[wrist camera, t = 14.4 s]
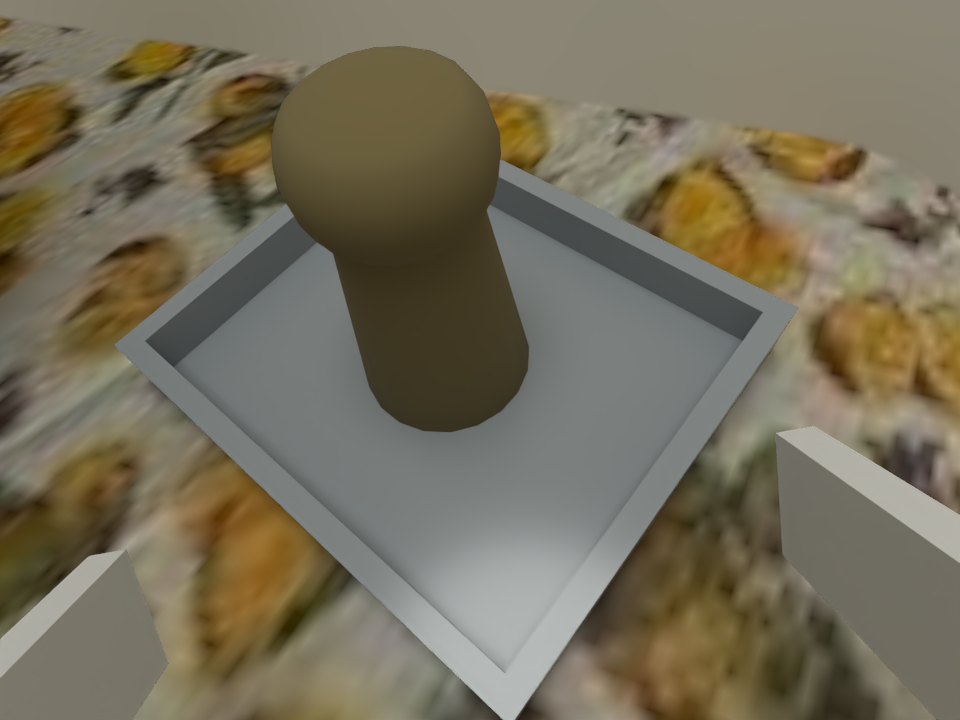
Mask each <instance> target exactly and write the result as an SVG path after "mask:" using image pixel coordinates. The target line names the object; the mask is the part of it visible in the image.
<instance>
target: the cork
mask: <svg viewBox="0 0 960 720" xmlns="http://www.w3.org/2000/svg"><path fill="white" fill-rule="evenodd" d="M271 150H272V163H273V170H274V175H275V180H276V185H277V187H278V189H279V191H280V193H281V195H282V197H283V198H284V200H285V202H286V204H287V206H288V207H289V209H290V211H291V212H292V214H293V215H294V217H295V219H296V220H297V222H298V224H299V225H300V227H301V228H302V229H303V230H304V231H305V232H306V233H307V234H308V235H309V236H310V237H312V238H313V239H314V240H315V241H316V242H317V243H319V244H320V245H322V246H323V247H325V248H326V249H327V250H329V251H330V252H332V253H333V256H334V260H335V263H336V267H337V271H338V274H339V278H340V282H341V285H342V289H343V293H344V296H345V300H346V304H347V307H348V311H349V315H350V318H351V322H352V326H353V329H354V333H355V337H356V340H357V344H358V348H359V351H360V355H361V359H362V362H363V366H364V370H365V373H366V377H367V381H368V384H369V388H370V389H371V391H372V393H373V395H374V396H375V398H376V400H377V402H378V403H379V405H380V407H381V408H382V409H384V410H385V411H386V412H387V413H389V414H390V415H391V416H392V417H393V418H395V419H396V420H397V421H398V422H400V423H403V424H405V425H408V426H411V427H413V428H416V429H419V430H422V431H430V432H454V431H458V430H462V429H466V428H470V427H474V426H478V425H479V424H481V423H483V422H484V421H486V420H488V419H489V418H491V417H493V416H494V415H496V414H498V413H499V412H501V411H502V410H503V409H504V408H505V407H506V405H507V404H508V403H509V402H510V401H511V400H512V399H513V398H514V397H515V395H516V394H517V393H518V392H519V390H520V387H521V385H522V383H523V380H524V378H525V376H526V373H527V371H528V360H529V345H528V342H527V338H526V335H525V332H524V329H523V326H522V322H521V319H520V316H519V313H518V309H517V306H516V303H515V300H514V297H513V293H512V290H511V287H510V284H509V280H508V277H507V274H506V271H505V268H504V264H503V261H502V258H501V255H500V251H499V248H498V245H497V242H496V239H495V235H494V232H493V229H492V226H491V222H490V219H489V216H488V213H487V209H488V207H489V205H490V203H491V202H492V200H493V198H494V195H495V191H496V186H497V182H498V177H499V167H500V157H501V149H500V133H499V130H498V128H497V125H496V122H495V120H494V117H493V114H492V112H491V109H490V106H489V104H488V101H487V99H486V96H485V94H484V91H483V90H482V89H481V88H480V87H479V86H478V85H477V84H476V83H475V81H473V79H472V78H471V77H470V76H469V75H468V74H467V73H466V72H465V71H464V70H463V69H462V68H461V67H460V66H459V65H458V64H457V63H456V62H454V61H453V60H451V59H448V58H446V57H444V56H442V55H439V54H437V53H435V52H433V51H429V50H422V49H416V48H411V47H404V46H403V47H401V46H395V47H374V48H370V49H365V50H361V51H356V52H353V53H348V54H346V55H344V56H342V57H339V58H337V59H335V60H332V61H330V62H328V63H326V64H324V65H322V66H321V67H320V68H318V69H317V70H315V71H314V72H313V73H311V74H310V75H308V76H307V77H306V78H304V79H303V80H301V81H300V82H299V83H298V84H297V85H296V86H295V87H294V89H293V90H292V91H291V92H290V93H289V95H288V96H287V97H286V98H285V99H284V101H283V102H282V105H281V107H280V110H279V113H278V115H277V118H276V121H275V124H274V129H273V134H272V139H271Z"/></svg>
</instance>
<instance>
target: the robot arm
mask: <svg viewBox="0 0 960 720" xmlns="http://www.w3.org/2000/svg"><path fill="white" fill-rule="evenodd" d="M776 449H777V467H778V484H779V502H780V519H781V536H782V554H783V556H784V557H785V558H786V559H787V560H788V561H789V562H790V563H791V564H792V565H793V566H794V567H795V568H796V569H797V571H798V572H799V573H800V574H801V575H802V576H803V577H804V578H805V579H806V580H807V581H808V582H809V583H810V584H811V586H812V587H813V588H814V589H815V590H816V591H817V592H818V593H819V594H820V595H821V596H822V597H823V598H824V599H825V600H826V602H827V603H828V604H829V605H830V606H831V607H832V608H833V609H834V610H835V611H836V612H837V613H838V614H839V615H840V617H841V618H842V619H843V620H844V621H845V622H846V623H847V624H848V625H849V626H850V627H851V628H852V629H853V630H854V631H855V633H856V634H857V635H858V636H859V637H860V638H861V639H862V640H863V641H864V642H865V643H866V644H867V645H868V646H869V647H870V649H871V650H872V651H873V652H874V653H875V654H876V655H877V656H878V657H879V658H880V659H881V660H882V661H883V662H884V664H885V665H886V666H887V667H888V668H889V669H890V670H891V671H892V672H893V673H894V674H895V675H896V676H897V677H898V678H899V680H900V681H901V682H902V683H903V684H904V685H905V686H906V687H907V688H908V689H909V690H910V691H911V692H912V693H913V695H914V696H915V697H916V698H917V699H918V700H919V701H920V702H921V703H922V704H923V705H924V706H925V707H926V708H927V709H928V711H929V712H930V713H931V714H932V715H933V716H934V717H935V718H936V719H937V720H960V515H959V514H957V513H956V512H954V511H952V510H951V509H949V508H947V507H946V506H944V505H942V504H941V503H939V502H938V501H936V500H934V499H933V498H931V497H929V496H928V495H926V494H924V493H923V492H921V491H920V490H918V489H916V488H915V487H913V486H911V485H910V484H908V483H906V482H905V481H903V480H902V479H900V478H898V477H897V476H895V475H893V474H892V473H890V472H888V471H887V470H885V469H884V468H882V467H880V466H879V465H877V464H875V463H874V462H872V461H870V460H869V459H867V458H865V457H864V456H862V455H861V454H859V453H857V452H856V451H854V450H852V449H851V448H849V447H847V446H846V445H844V444H843V443H841V442H839V441H838V440H836V439H834V438H833V437H831V436H829V435H828V434H826V433H825V432H823V431H821V430H820V429H818V428H816V427H815V426H811V427H806V428H800V429H795V430H789V431H783V432H778V433H776ZM167 665H168V660H167V658H166V655H165V652H164V650H163V647H162V644H161V641H160V639H159V636H158V633H157V631H156V628H155V625H154V623H153V620H152V617H151V614H150V612H149V609H148V606H147V604H146V601H145V598H144V596H143V593H142V590H141V587H140V585H139V582H138V579H137V577H136V574H135V571H134V569H133V566H132V563H131V560H130V558H129V555H128V552H127V550H120V551H114V552H109V553H103V554H98V555H92V556H89V557H87V558H86V559H85V560H84V561H83V562H82V563H81V564H80V565H79V566H78V567H77V568H76V569H75V570H74V571H72V572H71V573H70V574H69V575H68V576H67V577H66V578H65V579H64V580H63V581H62V582H61V583H60V584H59V585H58V586H56V587H55V588H54V589H53V590H52V591H51V592H50V593H49V594H48V595H47V596H46V597H45V598H44V599H43V600H41V601H40V602H39V603H38V604H37V605H36V606H35V607H34V608H33V609H32V610H31V611H30V612H29V613H28V614H26V615H25V616H24V617H23V618H22V619H21V620H20V621H19V622H18V623H17V624H16V625H15V626H14V627H13V628H11V629H10V630H9V631H8V632H7V633H6V634H5V635H4V636H3V637H2V638H1V639H0V720H132V719H133V718H134V716H135V715H136V713H137V712H138V710H139V708H140V707H141V705H142V704H143V702H144V701H145V699H146V698H147V696H148V694H149V693H150V691H151V690H152V688H153V687H154V685H155V684H156V682H157V680H158V679H159V677H160V676H161V674H162V673H163V671H164V670H165V668H166V666H167Z"/></svg>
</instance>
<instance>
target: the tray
mask: <svg viewBox="0 0 960 720" xmlns="http://www.w3.org/2000/svg"><path fill="white" fill-rule="evenodd" d="M487 213H488V216H489V219H490V222H491V226H492V229H493V232H494V235H495V239H496V242H497V245H498V248H499V251H500V255H501V258H502V261H503V264H504V268H505V271H506V274H507V277H508V280H509V284H510V287H511V290H512V293H513V297H514V300H515V303H516V306H517V309H518V313H519V316H520V319H521V322H522V326H523V329H524V332H525V335H526V338H527V342H528V345H529V360H528V371H527V373H526V376H525V378H524V380H523V383H522V385H521V387H520V390H519V392H518V393H517V394H516V395H515V397H514V398H513V399H512V400H511V401H510V402H509V403H508V404H507V405H506V407H505V408H504V409H503V410H502V411H501V412H499V413H498V414H496V415H494V416H493V417H491V418H489V419H488V420H486V421H484V422H483V423H481V424H479V425H478V426H474V427H470V428H466V429H462V430H458V431H454V432H430V431H422V430H419V429H416V428H413V427H411V426H408V425H405V424H403V423H400V422H398V421H397V420H396V419H395V418H393V417H392V416H391V415H390V414H389V413H387V412H386V411H385V410H384V409H382V408H381V407H380V405H379V403H378V402H377V400H376V398H375V396H374V395H373V393H372V391H371V389H370V388H369V384H368V381H367V377H366V373H365V370H364V366H363V362H362V359H361V355H360V351H359V348H358V344H357V340H356V337H355V333H354V329H353V326H352V322H351V318H350V315H349V311H348V307H347V304H346V300H345V296H344V293H343V289H342V285H341V282H340V278H339V274H338V271H337V267H336V263H335V260H334V256H333V253H332V252H330V251H329V250H327V249H326V248H325V247H323V246H322V245H320V244H319V243H317V242H316V241H315V240H314V239H313V238H312V237H310V236H309V235H308V234H307V233H306V232H305V231H304V230H303V229H302V228H301V227H300V225H299V224H298V222H297V220H296V219H295V217H294V215H293V214H292V212H291V211H290V209H289V207H288V206H287V204H285V205H284V206H283V207H281V208H280V209H279V210H278V211H277V212H275V213H274V214H273V215H272V216H271V217H269V218H268V219H267V220H266V221H264V222H263V223H262V224H261V225H260V226H258V227H257V228H256V229H255V230H253V231H252V232H251V233H250V234H249V235H247V236H246V237H245V238H244V239H242V240H241V241H240V242H239V243H238V244H236V245H235V246H234V247H233V248H232V249H230V250H229V251H228V252H227V253H225V254H224V255H223V256H222V257H221V258H219V259H218V260H217V261H216V262H214V263H213V264H212V265H211V266H210V267H208V268H207V269H206V270H205V271H203V272H202V273H201V274H200V275H199V276H197V277H196V278H195V279H194V280H193V281H191V282H190V283H189V284H188V285H186V286H185V287H184V288H183V289H182V290H180V291H179V292H178V293H177V294H175V295H174V296H173V297H172V298H171V299H169V300H168V301H167V302H166V303H164V304H163V305H162V306H161V307H160V308H158V309H157V310H156V311H155V312H153V313H152V314H151V315H150V316H149V317H147V318H146V319H145V320H144V321H143V322H141V323H140V324H139V325H138V326H136V327H135V328H134V329H133V330H132V331H130V332H129V333H128V334H127V335H125V336H124V337H123V338H122V339H121V340H119V341H118V342H117V343H116V344H114V346H115V347H116V348H117V349H119V350H120V351H121V352H122V353H123V354H124V355H125V356H126V357H127V358H128V359H129V360H130V361H131V362H132V363H133V364H134V365H135V366H136V367H137V368H138V369H139V370H140V371H141V372H142V373H143V374H144V375H146V376H147V377H148V378H149V379H150V380H151V381H152V382H153V383H154V384H155V385H156V386H157V387H158V388H159V389H160V390H161V391H162V392H163V393H164V394H165V395H166V396H167V397H168V398H169V399H170V400H171V401H173V402H174V403H175V404H176V405H177V406H178V407H179V408H180V409H181V410H182V411H183V412H184V413H185V414H186V415H187V416H188V417H189V418H190V419H191V420H192V421H193V422H194V423H195V424H196V425H197V426H198V427H200V428H201V429H202V430H203V431H204V432H205V433H206V434H207V435H208V436H209V437H210V438H211V439H212V440H213V441H214V442H215V443H216V444H217V445H218V446H219V447H220V448H221V449H222V450H223V451H224V452H225V453H227V454H228V455H229V456H230V457H231V458H232V459H233V460H234V461H235V462H236V463H237V464H238V465H239V466H240V467H241V468H242V469H243V470H244V471H245V472H246V473H247V474H248V475H249V476H250V477H251V478H252V479H254V480H255V481H256V482H257V483H258V484H259V485H260V486H261V487H262V488H263V489H264V490H265V491H266V492H267V493H268V494H269V495H270V496H271V497H272V498H273V499H274V500H275V501H276V502H277V503H278V504H280V505H281V506H282V507H283V508H284V509H285V510H286V511H287V512H288V513H289V514H290V515H291V516H292V517H293V518H294V519H295V520H296V521H297V522H298V523H299V524H300V525H301V526H302V527H303V528H304V529H305V530H307V531H308V532H309V533H310V534H311V535H312V536H313V537H314V538H315V539H316V540H317V541H318V542H319V543H320V544H321V545H322V546H323V547H324V548H325V549H326V550H327V551H328V552H329V553H330V554H331V555H332V556H334V557H335V558H336V559H337V560H338V561H339V562H340V563H341V564H342V565H343V566H344V567H345V568H346V569H347V570H348V571H349V572H350V573H351V574H352V575H353V576H354V577H355V578H356V579H357V580H358V581H359V582H361V583H362V584H363V585H364V586H365V587H366V588H367V589H368V590H369V591H370V592H371V593H372V594H373V595H374V596H375V597H376V598H377V599H378V600H379V601H380V602H381V603H382V604H383V605H384V606H385V607H386V608H388V609H389V610H390V611H391V612H392V613H393V614H394V615H395V616H396V617H397V618H398V619H399V620H400V621H401V622H402V623H403V624H404V625H405V626H406V627H407V628H408V629H409V630H410V631H411V632H412V633H413V634H415V635H416V636H417V637H418V638H419V639H420V640H421V641H422V642H423V643H424V644H425V645H426V646H427V647H428V648H429V649H430V650H431V651H432V652H433V653H434V654H435V655H436V656H437V657H438V658H439V659H441V660H442V661H443V662H444V663H445V664H446V665H447V666H448V667H449V668H450V669H451V670H452V671H453V672H454V673H455V674H456V675H457V676H458V677H459V678H460V679H461V680H462V681H463V682H464V683H465V684H466V685H468V686H469V687H470V688H471V689H472V690H473V691H474V692H475V693H476V694H477V695H478V696H479V697H480V698H481V699H482V700H483V701H484V702H485V703H486V704H487V705H488V706H489V707H490V708H491V709H492V710H493V711H495V712H496V713H497V714H498V715H499V716H500V717H501V718H502V719H503V720H518V718H519V717H520V715H521V714H522V712H523V711H524V709H525V708H526V706H527V705H528V704H529V702H530V701H531V699H532V698H533V696H534V695H535V693H536V692H537V690H538V689H539V688H540V686H541V685H542V683H543V682H544V680H545V679H546V677H547V676H548V674H549V673H550V672H551V670H552V669H553V667H554V666H555V664H556V663H557V661H558V660H559V658H560V657H561V656H562V654H563V653H564V651H565V650H566V648H567V647H568V645H569V644H570V642H571V641H572V640H573V638H574V637H575V635H576V634H577V632H578V631H579V629H580V628H581V626H582V625H583V624H584V622H585V621H586V619H587V618H588V616H589V615H590V613H591V612H592V610H593V609H594V608H595V606H596V605H597V603H598V602H599V600H600V599H601V597H602V596H603V594H604V593H605V592H606V590H607V589H608V587H609V586H610V584H611V583H612V581H613V580H614V578H615V577H616V576H617V574H618V573H619V571H620V570H621V568H622V567H623V565H624V564H625V562H626V561H627V560H628V558H629V557H630V555H631V554H632V552H633V551H634V549H635V548H636V546H637V545H638V544H639V542H640V541H641V539H642V538H643V536H644V535H645V533H646V532H647V530H648V529H649V528H650V526H651V525H652V523H653V522H654V520H655V519H656V517H657V516H658V514H659V513H660V512H661V510H662V509H663V507H664V506H665V504H666V503H667V501H668V500H669V498H670V497H671V496H672V494H673V493H674V491H675V490H676V488H677V487H678V485H679V484H680V482H681V481H682V480H683V478H684V477H685V475H686V474H687V472H688V471H689V469H690V468H691V466H692V465H693V464H694V462H695V461H696V459H697V458H698V456H699V455H700V453H701V452H702V450H703V449H704V448H705V446H706V445H707V443H708V442H709V440H710V439H711V437H712V436H713V434H714V433H715V432H716V430H717V429H718V427H719V426H720V424H721V423H722V421H723V420H724V418H725V417H726V416H727V414H728V413H729V411H730V410H731V408H732V407H733V405H734V404H735V402H736V401H737V400H738V398H739V397H740V395H741V394H742V392H743V391H744V389H745V388H746V386H747V385H748V384H749V382H750V381H751V379H752V378H753V376H754V375H755V373H756V372H757V370H758V369H759V368H760V366H761V365H762V363H763V362H764V360H765V359H766V357H767V356H768V354H769V353H770V352H771V350H772V349H773V347H774V346H775V344H776V342H777V341H778V339H779V338H780V336H781V335H782V333H783V331H784V330H785V328H786V327H787V325H788V324H789V322H790V320H791V319H792V317H793V316H794V314H795V313H796V311H797V309H798V307H796V306H794V305H792V304H790V303H788V302H786V301H784V300H782V299H780V298H778V297H776V296H774V295H772V294H770V293H768V292H766V291H764V290H762V289H760V288H758V287H756V286H754V285H752V284H750V283H748V282H746V281H744V280H742V279H740V278H738V277H736V276H734V275H732V274H730V273H728V272H726V271H724V270H722V269H720V268H718V267H716V266H714V265H712V264H710V263H708V262H706V261H704V260H702V259H700V258H698V257H696V256H694V255H692V254H690V253H688V252H686V251H684V250H682V249H680V248H678V247H676V246H674V245H672V244H670V243H668V242H666V241H664V240H662V239H660V238H658V237H656V236H654V235H652V234H650V233H647V232H645V231H643V230H641V229H639V228H637V227H635V226H633V225H631V224H629V223H627V222H625V221H623V220H621V219H619V218H617V217H615V216H613V215H611V214H609V213H607V212H605V211H603V210H601V209H599V208H597V207H595V206H593V205H591V204H589V203H587V202H585V201H583V200H581V199H579V198H577V197H575V196H573V195H571V194H569V193H567V192H565V191H563V190H561V189H559V188H557V187H555V186H553V185H551V184H549V183H547V182H545V181H543V180H541V179H539V178H537V177H535V176H533V175H531V174H529V173H527V172H525V171H523V170H521V169H519V168H517V167H515V166H513V165H511V164H509V163H507V162H505V161H503V160H501V159H500V167H499V177H498V182H497V186H496V191H495V195H494V198H493V200H492V202H491V203H490V205H489V207H488V209H487Z"/></svg>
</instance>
